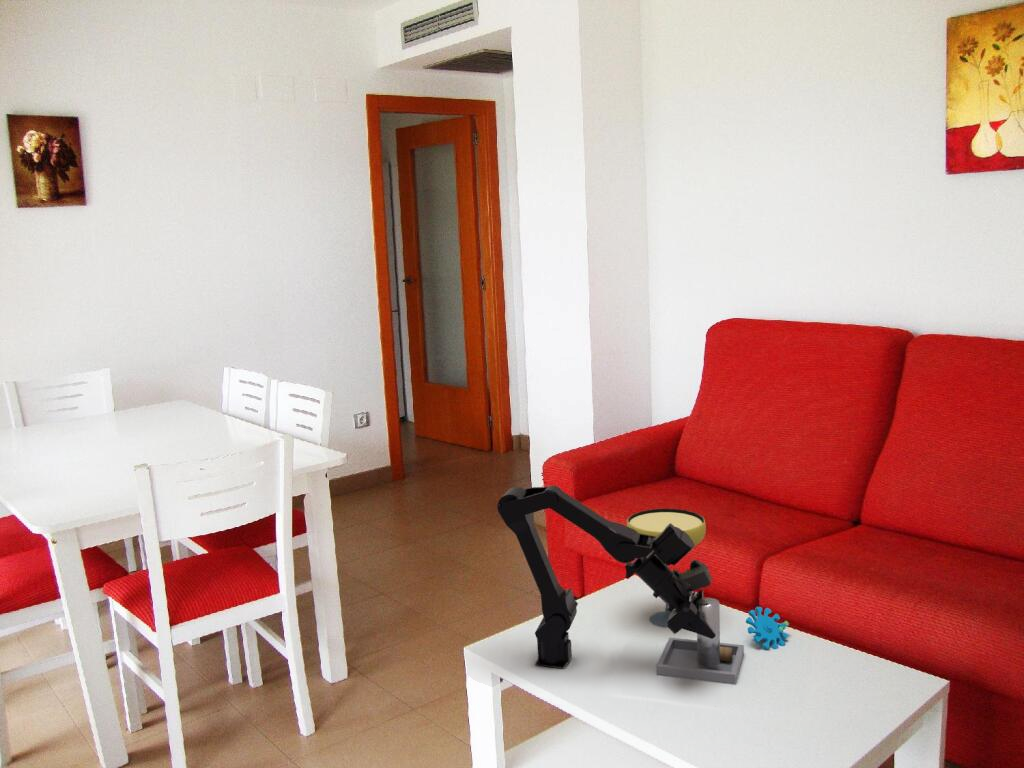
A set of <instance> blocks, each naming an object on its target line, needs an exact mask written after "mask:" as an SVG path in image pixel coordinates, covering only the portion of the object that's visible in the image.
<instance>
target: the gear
mask: <svg viewBox="0 0 1024 768" xmlns="http://www.w3.org/2000/svg"><path fill="white" fill-rule="evenodd" d="M762 612H764V613H763V614H762ZM771 613H772V610H771V609H770V608H768V607H766V608H765V609H764V611H763V607H761V606H756V607H755V610H754V609H751V610H750V611H748V614H747V615H749V616H748V617H747V618H746V619H745V623H746V624H747V625H750V626H749V627H748V628H747V632H748V634H750V635H752V634H753V636H752V637H753V639H752V640H753V641H754V643H756V644H758V643H759V642H760V641H762V640H764V641H765V642H763V643H762V644H761V647H762V648H763V649H765V650H768V649H769V648H771V649H772V650H777V649H780V648H779V647H780V646H781V647H784V646H785V645H786V644H787V643H786V641H785V640H786V639H787V638H788V637H789V634H788V633H786V632H784V630H785V629H787V628H786V627H788V626H789V625H790V623H789V622H788V621H787V620H785V621H784V622H781V623H778V621H779V620H780V619H781V617H780V615H779V614H778V613H775V614H774V615H773V616H772V617H770V616H768V615H770V614H771ZM756 614H757V616H756ZM770 643H772V645H771V646H770Z"/></svg>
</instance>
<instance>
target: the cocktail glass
mask: <svg viewBox="0 0 1024 768" xmlns="http://www.w3.org/2000/svg"><path fill="white" fill-rule="evenodd" d="M670 523H671V524H672V525H673V526H674V527H678V528H679V529H681V530H682V531H685V532H686V533H687V534H688V535H689V537H690V538H691V539H692V541H693V542H694V545H695V547H696V546H698V544H699V543H701V542H702V541H703V540H704V538H705V536H706V531H707V526H706V525H707V524H706V520H705V518H704V516H702V515H701V514H699V513H696V512H695V511H690V510H687V509H680V508H679V509H678V508H653V509H652V508H651V509H646V510H641V511H638V512H635V513H633V514H631V515H630V516H629V517H627V519H626V526H627V527H629V528H632V529H634V530H636V531H637V532H638V533H640V534H646V535H651V536H656V537H657V536H658V535H659V534H660V533H661V532H663V531H664V529H665V528H666V527H667V526H668V525H669V524H670ZM665 565H666V564H665ZM667 566H668V567H669V565H667ZM667 608H668V605H667V604H666V603H665V609H664V611H657V612H654V613H653V614H652V615H650V617H649V618H648V621H649V623H651V625H653V626H656V627H660V628H664V629H669V628H668V618H669V615H670V614H671V613H672V612H673V611H672V612H670V611H669V610H667Z"/></svg>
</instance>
